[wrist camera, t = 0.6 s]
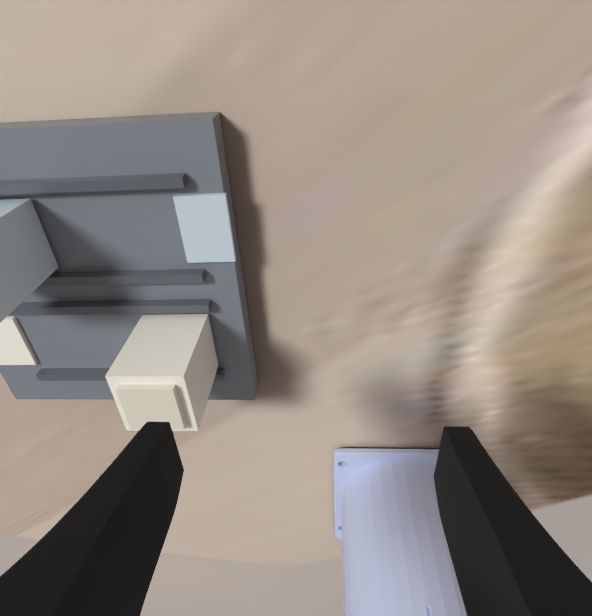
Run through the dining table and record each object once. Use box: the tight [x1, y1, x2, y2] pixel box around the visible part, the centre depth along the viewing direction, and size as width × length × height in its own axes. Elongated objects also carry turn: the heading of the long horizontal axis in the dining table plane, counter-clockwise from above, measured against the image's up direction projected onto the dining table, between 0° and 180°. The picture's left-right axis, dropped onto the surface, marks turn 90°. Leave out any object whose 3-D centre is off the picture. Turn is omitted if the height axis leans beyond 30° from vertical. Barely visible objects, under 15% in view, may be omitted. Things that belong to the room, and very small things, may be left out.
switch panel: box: [0, 112, 258, 400], centre depth 19 cm, size 14×13×2 cm
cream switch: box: [105, 314, 218, 431], centre depth 18 cm, size 3×3×4 cm
